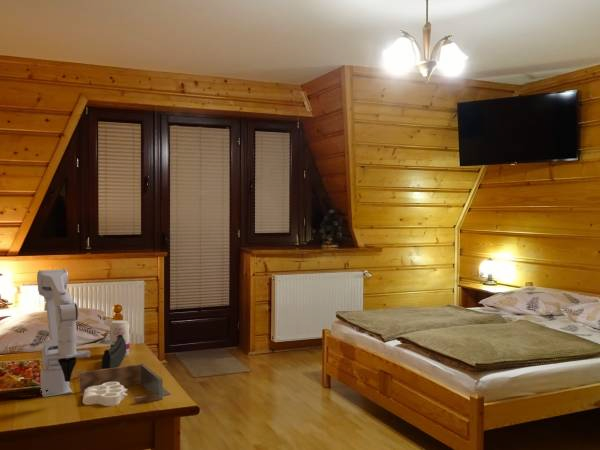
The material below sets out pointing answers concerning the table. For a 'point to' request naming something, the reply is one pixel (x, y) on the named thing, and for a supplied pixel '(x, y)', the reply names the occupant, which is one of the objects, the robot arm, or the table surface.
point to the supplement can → (120, 333)
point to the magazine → (114, 354)
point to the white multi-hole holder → (104, 394)
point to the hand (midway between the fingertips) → (67, 380)
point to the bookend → (152, 382)
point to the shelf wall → (115, 379)
